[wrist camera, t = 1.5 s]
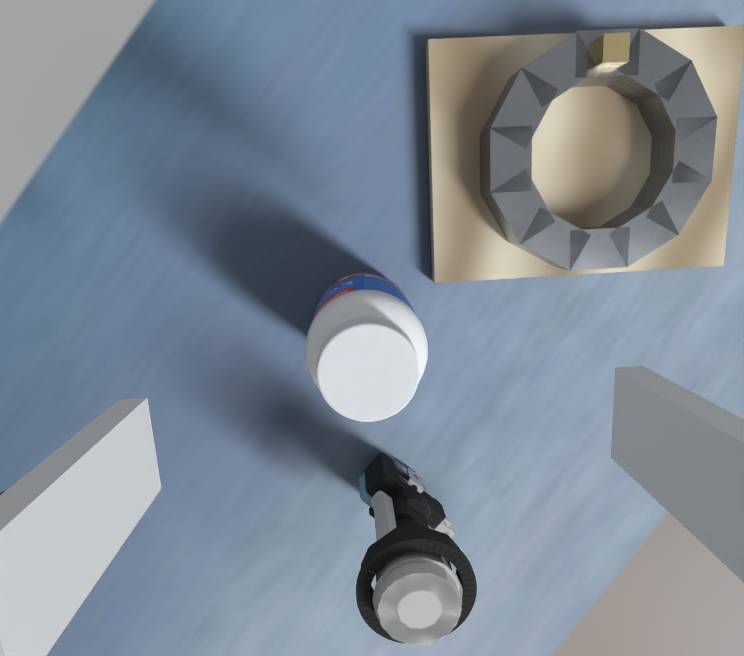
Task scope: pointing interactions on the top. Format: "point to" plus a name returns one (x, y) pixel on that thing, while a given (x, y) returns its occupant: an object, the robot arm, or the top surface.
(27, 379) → the top surface
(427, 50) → the board
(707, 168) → the ring
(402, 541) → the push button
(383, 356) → the pill bottle
